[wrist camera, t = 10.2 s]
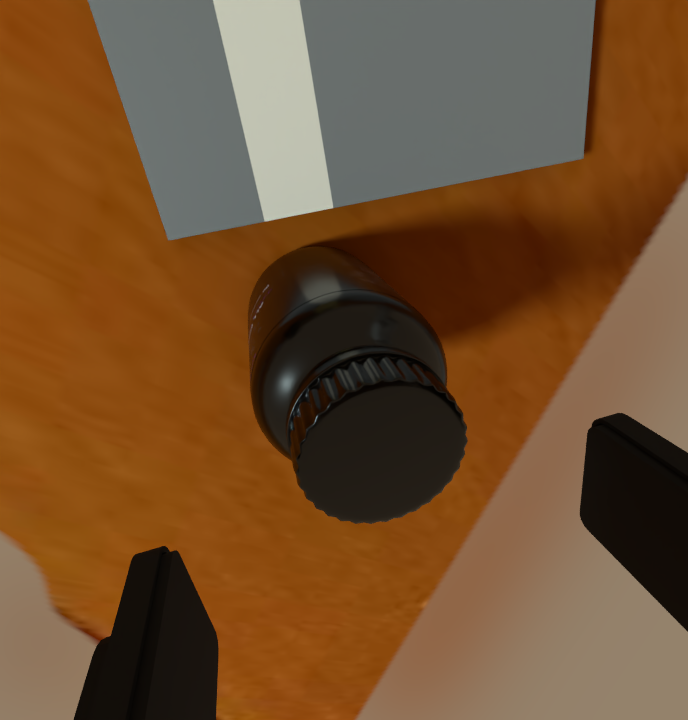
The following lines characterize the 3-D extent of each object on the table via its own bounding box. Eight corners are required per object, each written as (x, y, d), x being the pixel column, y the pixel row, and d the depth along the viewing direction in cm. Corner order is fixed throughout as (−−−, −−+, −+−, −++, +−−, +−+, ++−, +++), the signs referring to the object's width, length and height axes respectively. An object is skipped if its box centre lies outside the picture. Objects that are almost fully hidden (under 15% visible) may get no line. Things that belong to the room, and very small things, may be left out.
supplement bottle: (220, 283, 20) (196, 415, 10) (349, 219, 20) (468, 280, 10) (286, 394, 23) (323, 586, 13) (398, 338, 24) (528, 483, 13)
